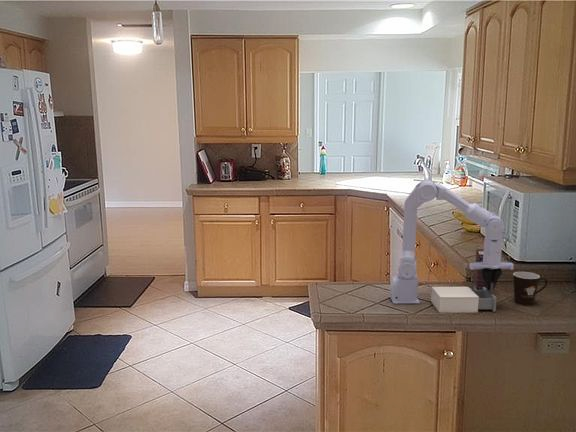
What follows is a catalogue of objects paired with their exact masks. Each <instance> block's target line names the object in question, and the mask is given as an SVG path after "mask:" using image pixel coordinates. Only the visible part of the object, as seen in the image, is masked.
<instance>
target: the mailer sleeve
mask: <svg viewBox="0 0 576 432" xmlns="http://www.w3.org/2000/svg"><path fill="white" fill-rule="evenodd" d="M472 290H473V289H472V288H470V287H469V286H431V293H430V294H431V296H430V297H431V299H430V302H431V303H432V305H433V306H434V308H435V309H436V310H437V311H438V313H441V314H442V313H447V314H449V313H450V314H451V313H452V314H453V313H454V314H455V313H456V314H457V313H458V314H459V313H464V314H465V313H479V312H478V311H479V309H478V301H479V297H478V296H477V295H476V294H475V293H474V292H473V291H472Z"/></svg>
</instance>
